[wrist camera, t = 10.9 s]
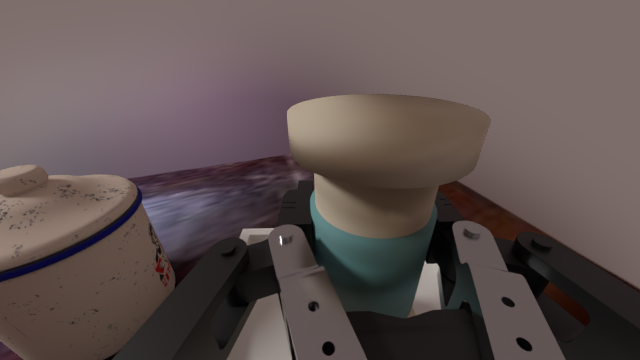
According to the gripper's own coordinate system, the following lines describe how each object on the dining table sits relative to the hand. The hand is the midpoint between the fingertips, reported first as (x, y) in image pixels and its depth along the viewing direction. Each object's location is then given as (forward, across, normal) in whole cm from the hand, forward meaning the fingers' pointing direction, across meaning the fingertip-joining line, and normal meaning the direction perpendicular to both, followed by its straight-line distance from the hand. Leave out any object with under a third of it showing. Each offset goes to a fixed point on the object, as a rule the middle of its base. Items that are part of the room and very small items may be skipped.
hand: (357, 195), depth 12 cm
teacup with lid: (+2, +19, +10) cm, 22 cm away
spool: (-3, 0, +7) cm, 7 cm away
